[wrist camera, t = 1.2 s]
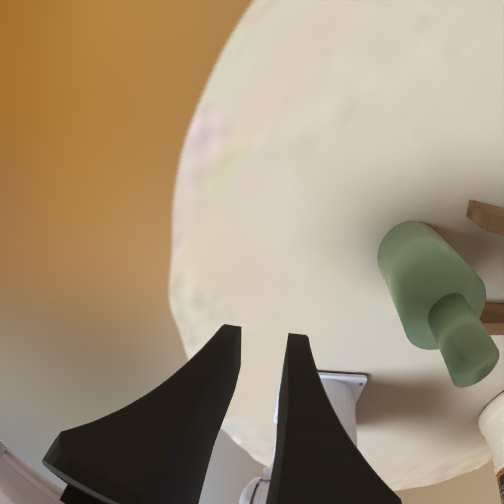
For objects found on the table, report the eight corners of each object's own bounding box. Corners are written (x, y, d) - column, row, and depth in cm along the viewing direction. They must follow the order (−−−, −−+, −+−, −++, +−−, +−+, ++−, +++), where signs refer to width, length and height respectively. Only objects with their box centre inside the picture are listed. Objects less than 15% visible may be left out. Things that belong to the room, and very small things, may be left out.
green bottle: (429, 287, 19) (486, 399, 9) (370, 282, 19) (406, 409, 10) (447, 226, 17) (537, 318, 7) (385, 216, 17) (458, 318, 7)
